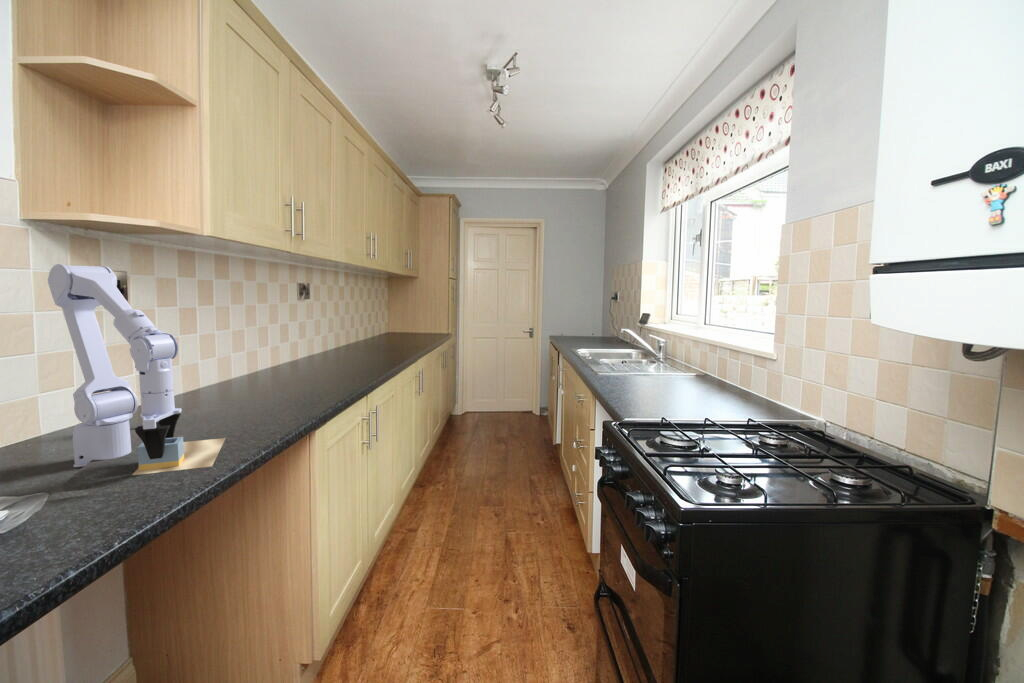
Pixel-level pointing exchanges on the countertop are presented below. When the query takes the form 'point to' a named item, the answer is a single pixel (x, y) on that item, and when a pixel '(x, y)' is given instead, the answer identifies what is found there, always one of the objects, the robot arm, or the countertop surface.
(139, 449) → the sleeve
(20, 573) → the countertop surface
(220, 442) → the board
